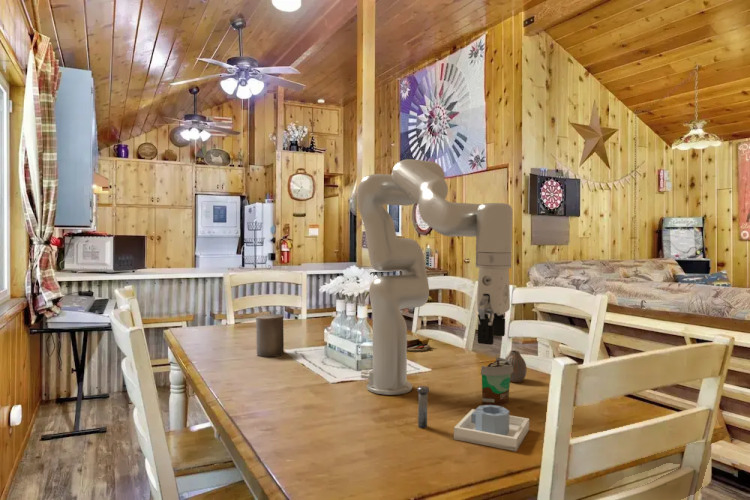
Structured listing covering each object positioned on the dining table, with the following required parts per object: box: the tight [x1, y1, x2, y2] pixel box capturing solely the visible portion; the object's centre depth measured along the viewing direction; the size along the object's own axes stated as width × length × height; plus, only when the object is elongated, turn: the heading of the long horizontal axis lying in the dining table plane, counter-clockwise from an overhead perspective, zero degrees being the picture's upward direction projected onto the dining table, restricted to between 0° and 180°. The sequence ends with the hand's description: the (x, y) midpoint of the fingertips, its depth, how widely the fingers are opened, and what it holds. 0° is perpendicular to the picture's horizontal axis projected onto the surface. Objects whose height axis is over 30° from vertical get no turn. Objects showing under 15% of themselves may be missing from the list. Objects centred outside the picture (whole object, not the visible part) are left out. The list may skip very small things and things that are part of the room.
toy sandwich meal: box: [407, 333, 431, 353], centre depth 196 cm, size 12×14×5 cm
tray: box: [453, 408, 530, 452], centre depth 111 cm, size 13×13×2 cm
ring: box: [471, 404, 510, 436], centre depth 112 cm, size 7×8×4 cm
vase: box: [505, 350, 528, 383], centre depth 153 cm, size 7×7×9 cm
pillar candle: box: [255, 313, 285, 358], centre depth 185 cm, size 10×10×15 cm
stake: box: [416, 385, 430, 429], centre depth 116 cm, size 3×3×9 cm
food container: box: [480, 356, 513, 406], centre depth 134 cm, size 12×6×10 cm, turn 148°
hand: (491, 339), depth 112 cm, fingers open, 9 cm apart
